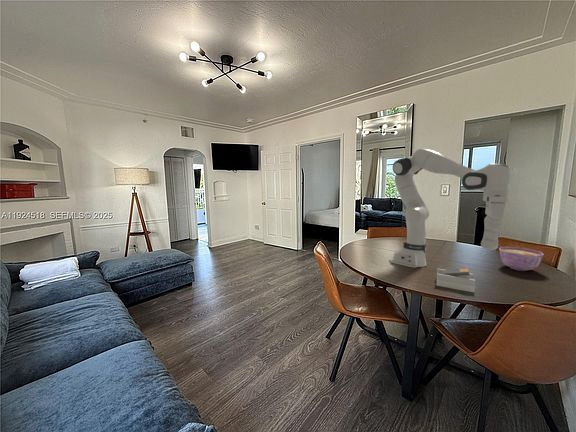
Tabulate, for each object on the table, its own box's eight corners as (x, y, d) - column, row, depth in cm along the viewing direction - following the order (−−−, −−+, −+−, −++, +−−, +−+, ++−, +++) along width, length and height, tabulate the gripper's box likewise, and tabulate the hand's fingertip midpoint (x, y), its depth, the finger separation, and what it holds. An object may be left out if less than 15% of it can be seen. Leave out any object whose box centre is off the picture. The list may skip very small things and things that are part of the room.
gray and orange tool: (441, 276, 126) (441, 273, 126) (441, 272, 131) (441, 269, 132) (469, 275, 120) (468, 272, 120) (468, 271, 125) (467, 268, 125)
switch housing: (436, 285, 126) (437, 274, 125) (436, 277, 136) (437, 267, 135) (474, 292, 117) (475, 281, 116) (471, 283, 127) (472, 273, 126)
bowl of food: (551, 275, 137) (554, 256, 135) (510, 273, 141) (513, 254, 139) (524, 264, 156) (526, 247, 155) (489, 262, 160) (491, 246, 159)
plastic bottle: (489, 247, 121) (493, 208, 118) (501, 251, 115) (506, 210, 112) (477, 247, 121) (481, 208, 118) (488, 251, 114) (493, 210, 111)
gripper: (483, 196, 125) (480, 222, 126) (490, 198, 107) (486, 228, 109) (499, 196, 121) (496, 223, 123) (508, 199, 104) (504, 229, 106)
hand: (491, 225), depth 116 cm, fingers closed on plastic bottle, 6 cm apart
